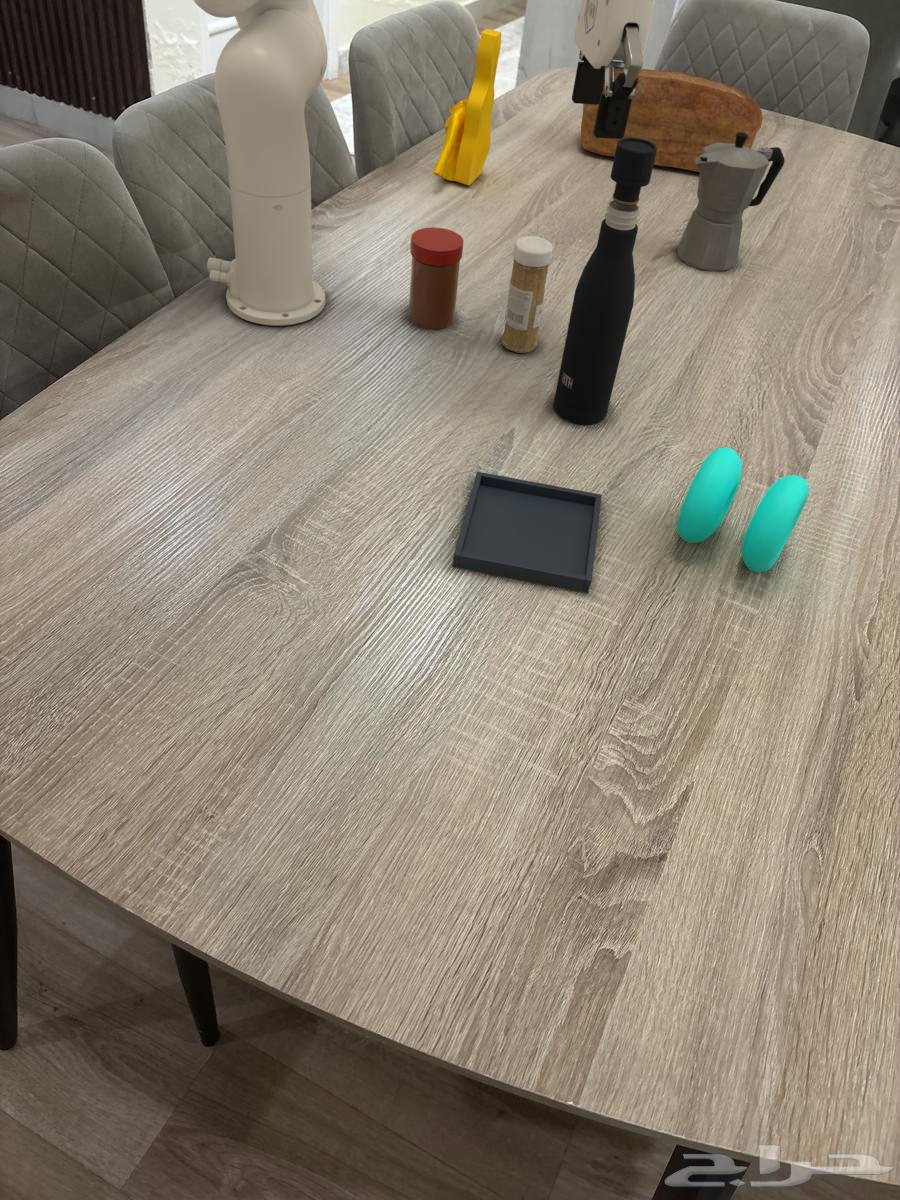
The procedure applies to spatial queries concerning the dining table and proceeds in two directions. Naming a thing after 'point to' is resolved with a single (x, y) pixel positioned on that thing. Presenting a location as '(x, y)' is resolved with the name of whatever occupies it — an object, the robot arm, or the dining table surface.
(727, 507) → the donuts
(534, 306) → the spice jar
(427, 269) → the jam jar
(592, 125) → the bread
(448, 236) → the jar lid
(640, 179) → the black bottle
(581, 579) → the slate tray
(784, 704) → the dining table surface
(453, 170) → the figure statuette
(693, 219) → the coffeepot
